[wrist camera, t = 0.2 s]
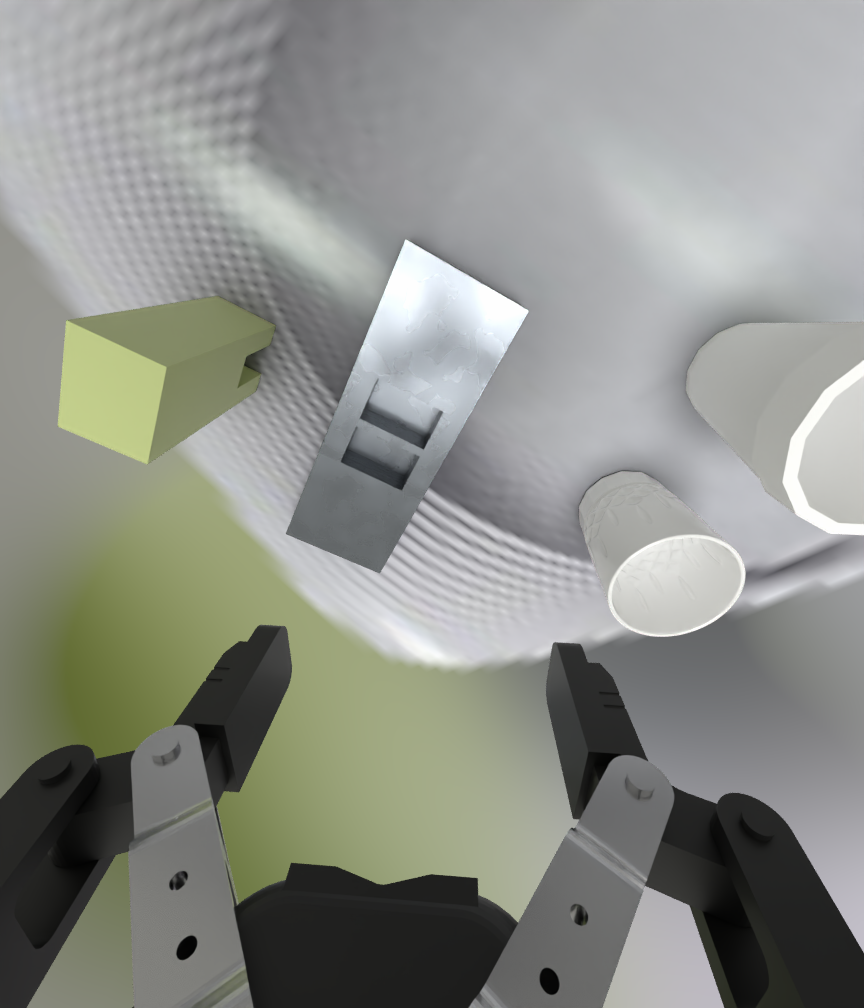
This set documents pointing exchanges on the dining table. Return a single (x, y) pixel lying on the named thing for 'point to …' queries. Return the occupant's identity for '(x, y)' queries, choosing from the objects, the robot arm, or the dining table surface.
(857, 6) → the dining table surface
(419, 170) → the dining table surface
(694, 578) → the white cup
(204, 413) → the olive green rectangular block
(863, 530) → the foam cup
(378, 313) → the grey flat block
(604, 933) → the robot arm
